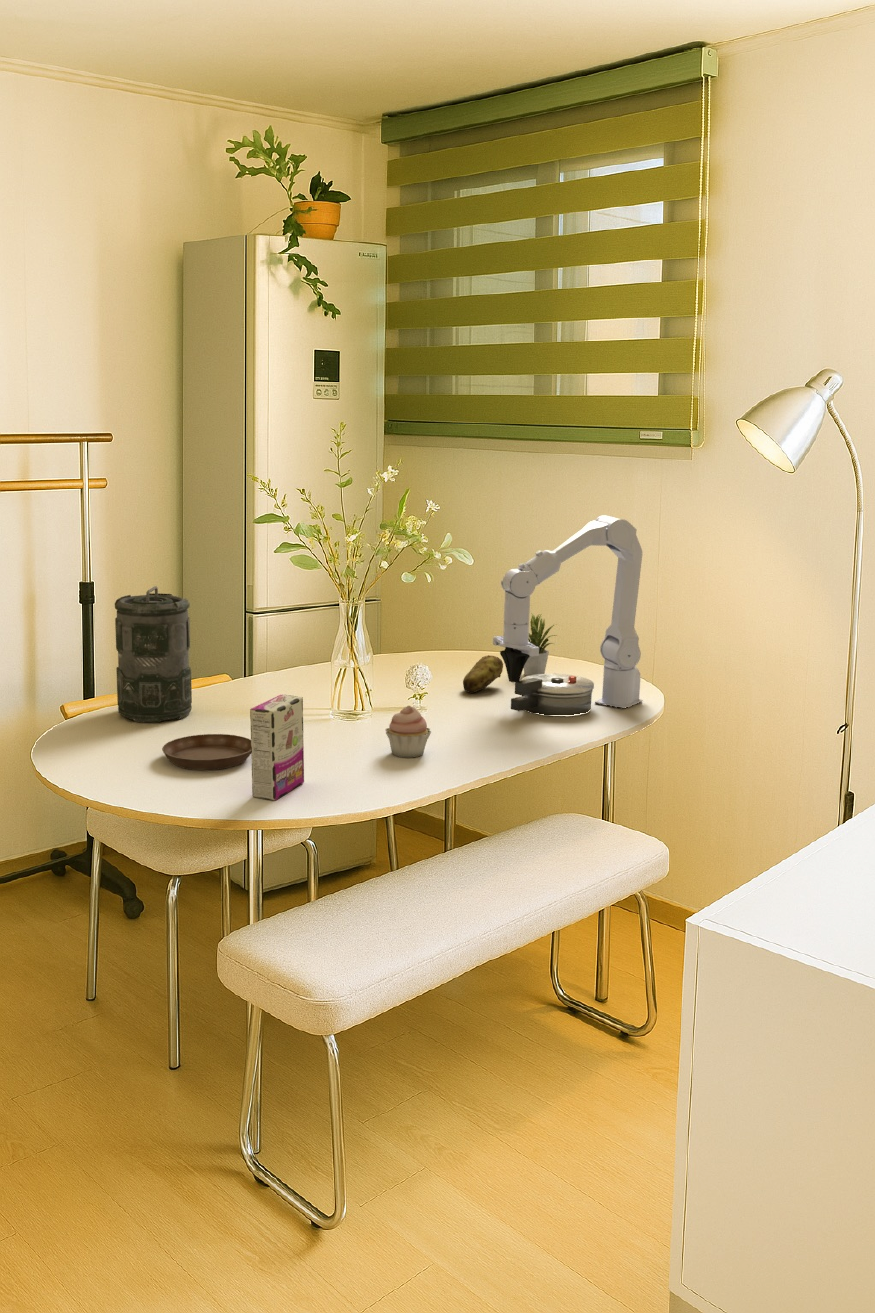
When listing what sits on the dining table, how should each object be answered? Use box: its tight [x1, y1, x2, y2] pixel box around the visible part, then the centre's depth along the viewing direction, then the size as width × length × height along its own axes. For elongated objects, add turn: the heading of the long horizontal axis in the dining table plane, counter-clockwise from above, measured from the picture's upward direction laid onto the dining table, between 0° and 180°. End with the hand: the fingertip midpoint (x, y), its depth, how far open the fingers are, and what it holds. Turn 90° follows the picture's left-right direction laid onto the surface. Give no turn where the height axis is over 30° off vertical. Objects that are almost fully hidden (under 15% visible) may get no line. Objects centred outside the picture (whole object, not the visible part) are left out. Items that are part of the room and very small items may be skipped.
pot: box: [510, 689, 594, 715], centre depth 274 cm, size 22×16×5 cm
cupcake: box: [385, 705, 432, 759], centre depth 237 cm, size 9×9×10 cm
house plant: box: [523, 612, 558, 677], centre depth 308 cm, size 14×14×16 cm
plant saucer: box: [161, 733, 252, 771], centre depth 231 cm, size 18×18×3 cm
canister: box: [114, 585, 193, 724], centre depth 259 cm, size 16×16×28 cm
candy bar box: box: [249, 694, 305, 801], centre depth 213 cm, size 11×5×16 cm, turn 158°
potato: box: [462, 655, 504, 693], centre depth 291 cm, size 8×13×8 cm, turn 126°
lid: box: [514, 673, 595, 696], centre depth 273 cm, size 22×17×3 cm
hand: (514, 681), depth 272 cm, fingers closed
